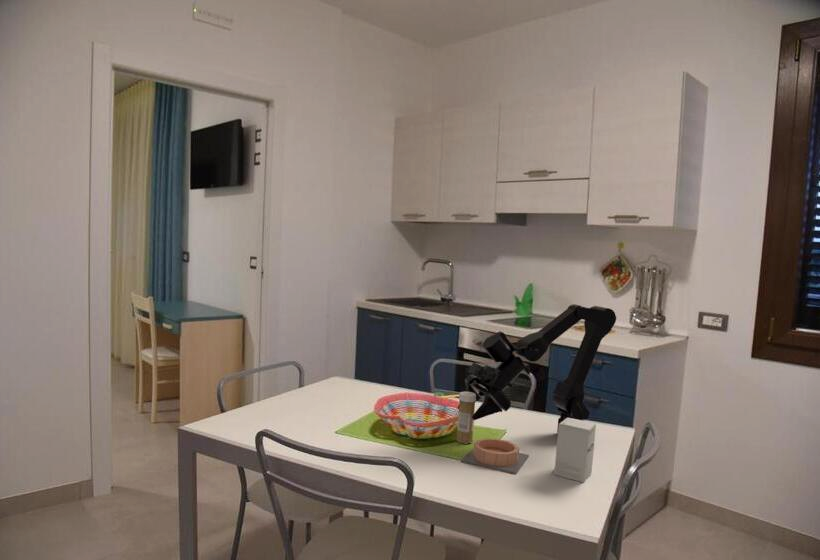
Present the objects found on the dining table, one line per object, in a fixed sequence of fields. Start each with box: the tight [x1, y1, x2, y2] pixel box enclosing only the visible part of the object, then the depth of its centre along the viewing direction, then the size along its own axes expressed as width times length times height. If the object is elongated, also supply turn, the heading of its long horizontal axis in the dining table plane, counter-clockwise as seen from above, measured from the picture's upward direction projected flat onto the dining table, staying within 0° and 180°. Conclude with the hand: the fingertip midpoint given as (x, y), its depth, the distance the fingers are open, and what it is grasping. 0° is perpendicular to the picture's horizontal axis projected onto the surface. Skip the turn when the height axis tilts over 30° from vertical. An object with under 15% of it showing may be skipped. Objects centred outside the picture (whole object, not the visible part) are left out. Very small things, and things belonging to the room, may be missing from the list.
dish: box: [460, 437, 530, 475], centre depth 146 cm, size 14×14×3 cm
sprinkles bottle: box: [456, 391, 477, 445], centre depth 157 cm, size 5×5×14 cm
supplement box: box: [553, 418, 597, 483], centre depth 139 cm, size 7×7×13 cm
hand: (465, 413), depth 157 cm, fingers open, 9 cm apart
